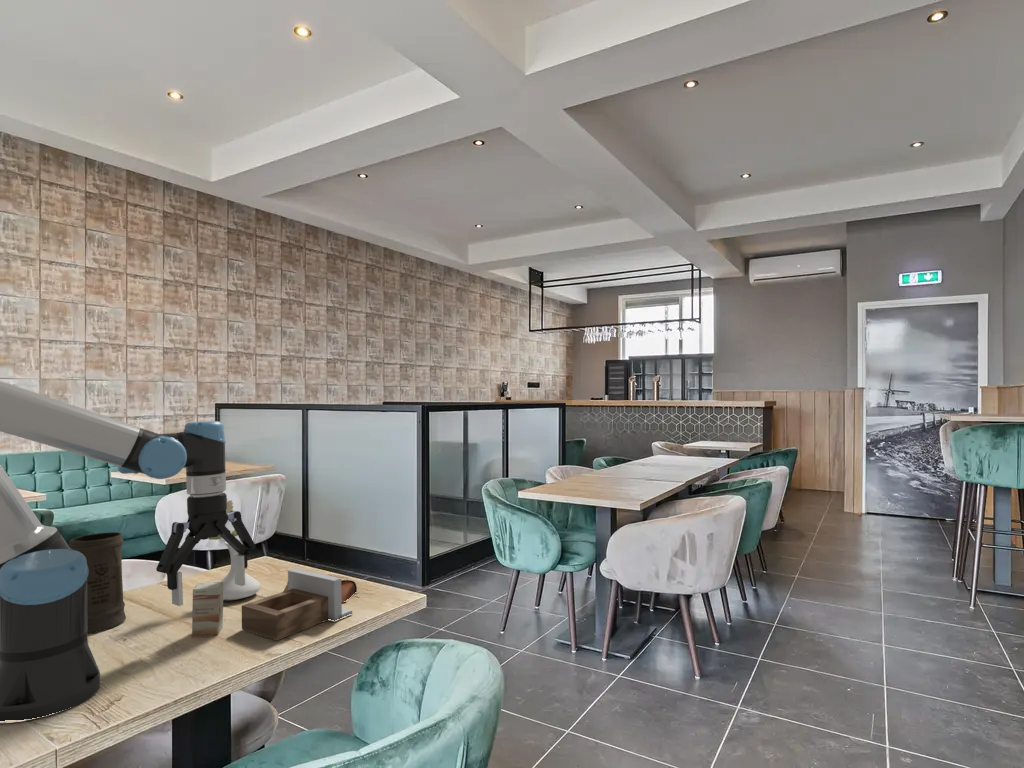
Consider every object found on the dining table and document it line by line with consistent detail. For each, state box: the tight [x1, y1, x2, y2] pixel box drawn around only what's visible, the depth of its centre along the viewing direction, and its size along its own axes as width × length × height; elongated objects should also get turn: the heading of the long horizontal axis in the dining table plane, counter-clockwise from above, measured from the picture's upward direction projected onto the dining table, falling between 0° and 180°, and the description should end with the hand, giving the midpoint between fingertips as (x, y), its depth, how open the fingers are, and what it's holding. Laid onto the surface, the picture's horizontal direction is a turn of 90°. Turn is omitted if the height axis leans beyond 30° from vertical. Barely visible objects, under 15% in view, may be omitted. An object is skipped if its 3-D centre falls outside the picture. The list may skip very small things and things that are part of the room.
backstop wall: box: [287, 568, 353, 621], centre depth 136 cm, size 5×16×9 cm, turn 57°
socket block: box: [241, 588, 329, 641], centre depth 129 cm, size 13×12×5 cm
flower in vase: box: [208, 499, 262, 601], centre depth 148 cm, size 13×11×25 cm
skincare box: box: [191, 581, 224, 638], centre depth 125 cm, size 5×4×10 cm
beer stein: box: [68, 531, 127, 634], centre depth 133 cm, size 15×11×20 cm
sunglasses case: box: [282, 579, 358, 602], centre depth 146 cm, size 18×7×7 cm
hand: (210, 594), depth 126 cm, fingers open, 13 cm apart
